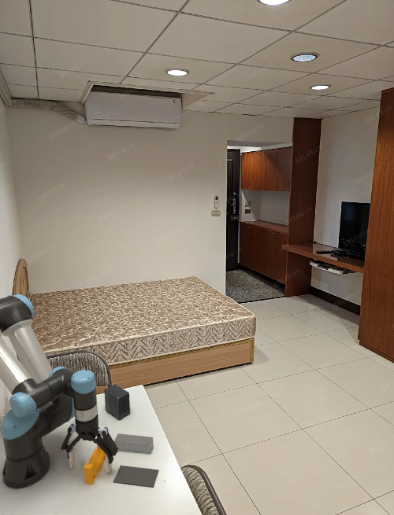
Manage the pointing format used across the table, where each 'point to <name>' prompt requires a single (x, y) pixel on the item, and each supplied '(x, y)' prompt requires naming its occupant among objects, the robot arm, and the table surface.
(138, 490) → the table surface
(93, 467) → the pipe clamp
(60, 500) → the table surface
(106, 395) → the small box
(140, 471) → the pad
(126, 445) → the grey rectangular bar
